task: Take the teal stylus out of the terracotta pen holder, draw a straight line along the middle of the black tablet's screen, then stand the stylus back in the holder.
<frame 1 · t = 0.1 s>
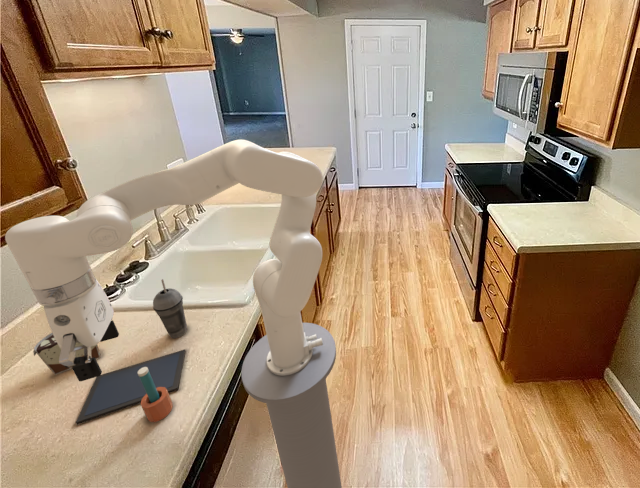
hand: (101, 356, 64), 24 cm above the worktop, tool pointing down, fingers open, 9 cm apart
stylus: (159, 409, 78), resting on holder
holder: (160, 411, 78), on the worktop
food container: (80, 358, 92), on the worktop
tablet: (137, 384, 85), on the worktop
beverage cup: (179, 332, 100), on the worktop
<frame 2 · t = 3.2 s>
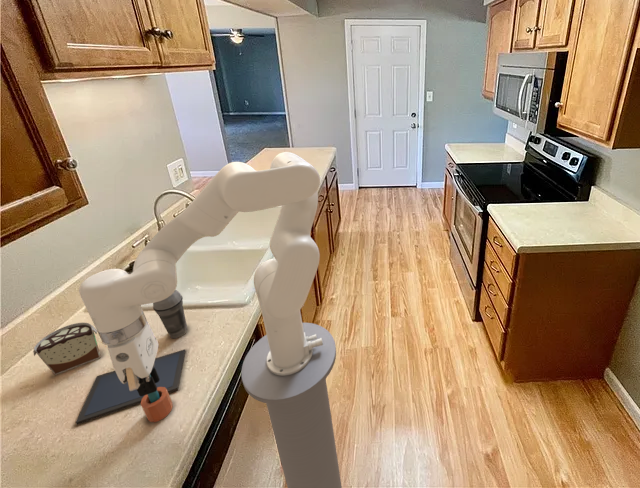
hand: (150, 387, 75), 8 cm above the worktop, tool pointing down, fingers closed on stylus, 1 cm apart
stylus: (159, 409, 78), point 1 cm above the worktop, touching gripper
everything else where it was.
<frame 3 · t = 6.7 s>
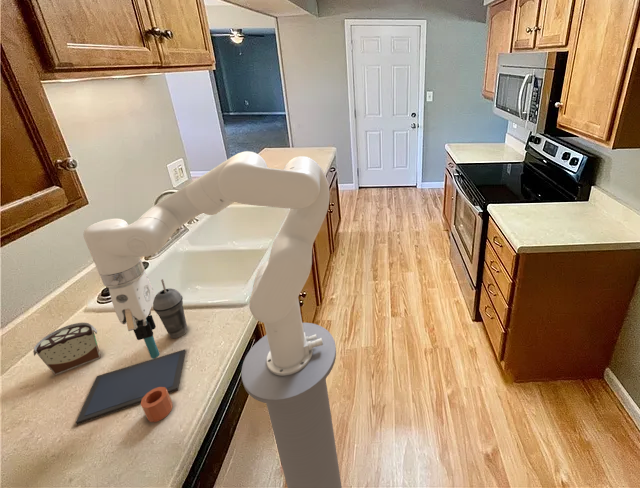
hand: (146, 333, 81), 15 cm above the worktop, tool pointing down, fingers closed on stylus
stylus: (155, 355, 84), point 7 cm above the worktop, touching gripper
everything else where it was.
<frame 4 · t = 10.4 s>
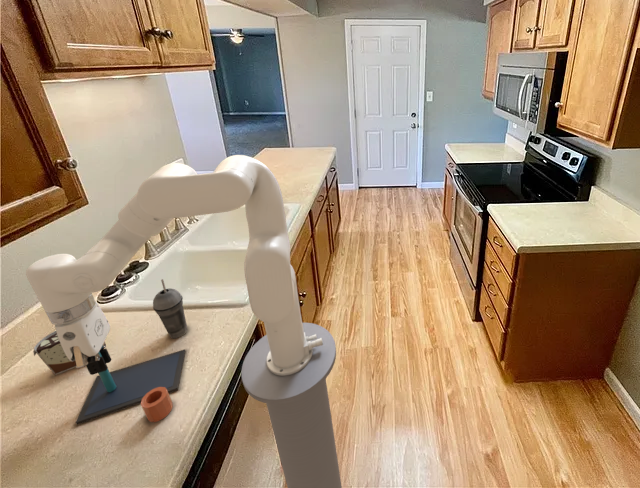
hand: (101, 367, 80), 9 cm above the worktop, tool pointing down, fingers closed on stylus, 1 cm apart
stylus: (111, 388, 82), point 1 cm above the worktop, touching gripper
everything else where it was.
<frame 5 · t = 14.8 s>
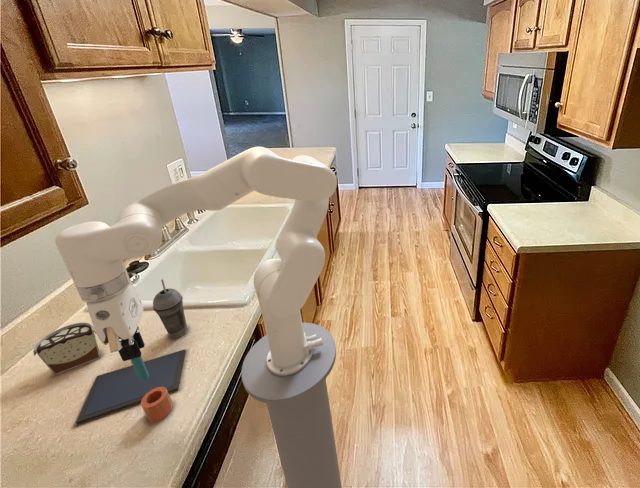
hand: (134, 352, 71), 19 cm above the worktop, tool pointing down, fingers closed on stylus
stylus: (144, 377, 73), point 11 cm above the worktop, touching gripper
everything else where it was.
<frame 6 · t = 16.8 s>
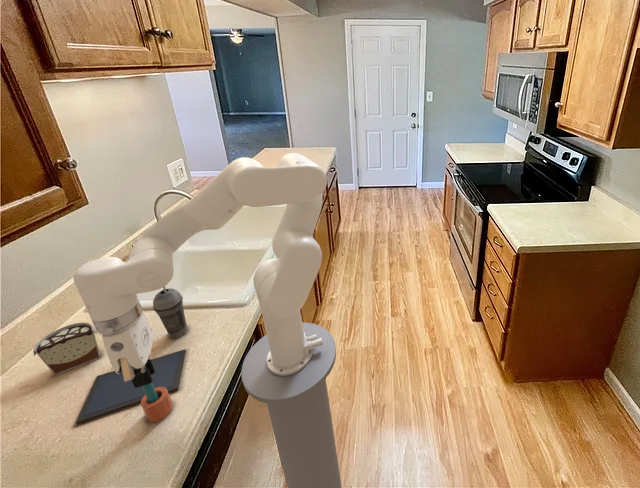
hand: (145, 379, 74), 11 cm above the worktop, tool pointing down, fingers closed on stylus
stylus: (154, 402, 76), point 3 cm above the worktop, touching gripper
everything else where it was.
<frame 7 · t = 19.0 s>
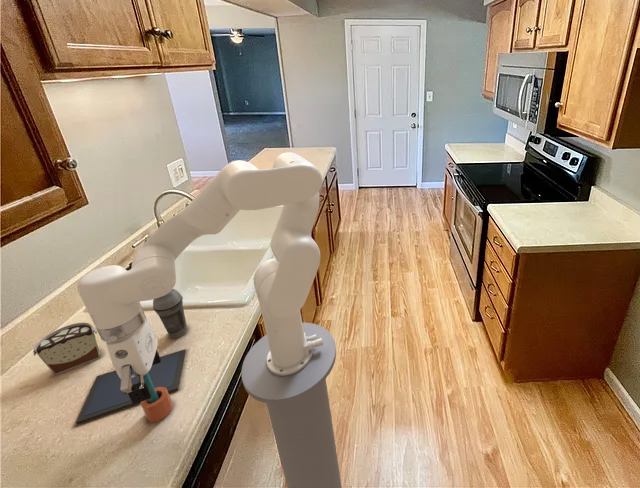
hand: (148, 381, 74), 10 cm above the worktop, tool pointing down, fingers open, 9 cm apart
stylus: (158, 410, 77), resting on holder
everything else where it was.
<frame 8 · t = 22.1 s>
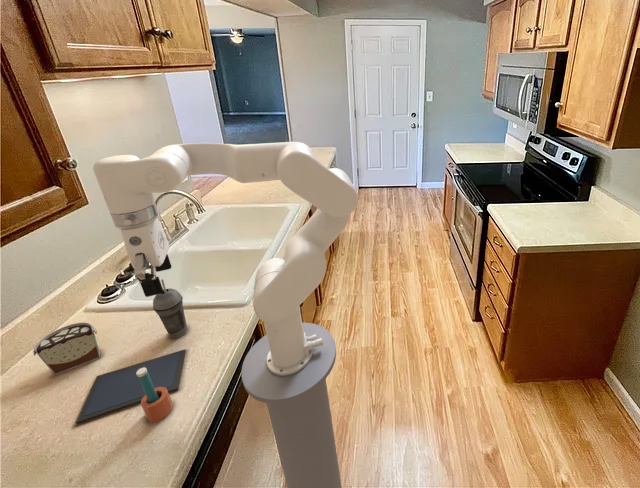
hand: (159, 281, 75), 30 cm above the worktop, tool pointing down, fingers open, 9 cm apart
nothing on the worktop moved.
at the end: stylus 0.2 cm off-centre in the holder, point 0.5 cm above the holder's base; stylus tilted 0°; tablet moved 0.0 cm from its start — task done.
